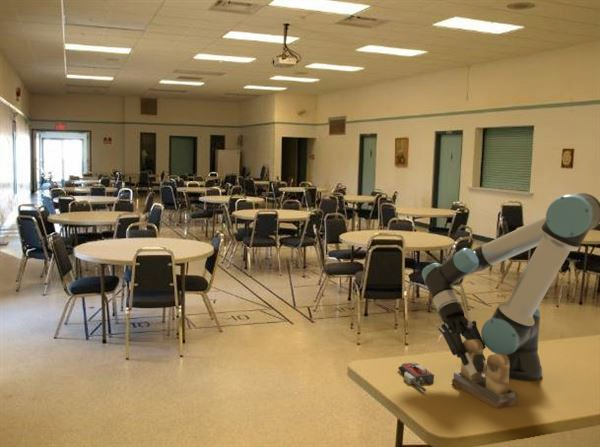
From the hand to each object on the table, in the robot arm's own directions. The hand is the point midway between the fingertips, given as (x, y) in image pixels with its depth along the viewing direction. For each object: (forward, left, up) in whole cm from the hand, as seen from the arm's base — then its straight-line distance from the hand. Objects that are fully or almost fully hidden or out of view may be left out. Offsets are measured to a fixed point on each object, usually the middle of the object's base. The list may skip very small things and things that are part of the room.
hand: (479, 373), depth 185 cm
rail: (0, +2, -6) cm, 6 cm away
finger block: (0, -4, -3) cm, 5 cm away
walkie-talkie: (+12, -14, -6) cm, 20 cm away
